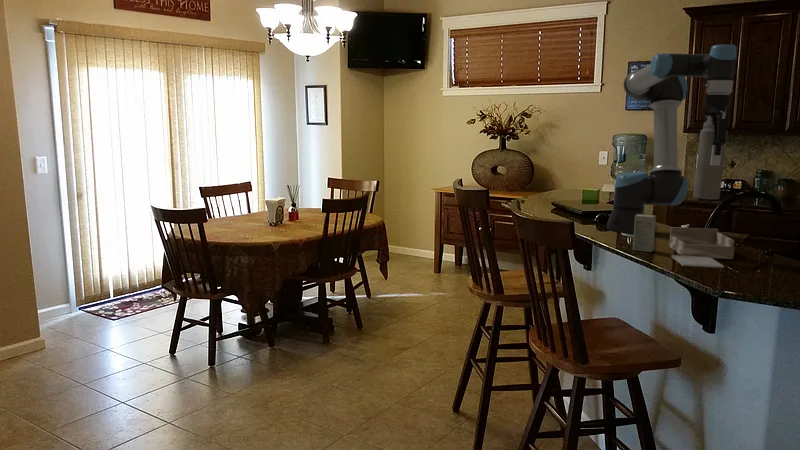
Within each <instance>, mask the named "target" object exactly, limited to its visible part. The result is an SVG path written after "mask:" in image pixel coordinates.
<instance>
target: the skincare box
mask: <svg viewBox="0 0 800 450" xmlns="http://www.w3.org/2000/svg"><path fill="white" fill-rule="evenodd" d="M656 223H657V215H651V214H644V215H642V214H637V215H635V221H634V233H633V238H632V250H633V251H639V252H647V253H652V252H653V251H654V250H655V249H654V248H655V235H656Z"/></svg>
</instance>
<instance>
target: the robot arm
mask: <svg viewBox="0 0 800 450" xmlns="http://www.w3.org/2000/svg"><path fill="white" fill-rule="evenodd" d="M737 51H738V49H737V46H736V45H734V44H715V45H712V46H711V48H710V51H709V53H706V54H705V53H666V52H663V53H656V54H655V53H654V55H653V56H652V58H651V60H650V64H648V65H647V66H645V67H643V68H641V69H637V70H633V71H632V72H629V73H628V74H627V75H626V77H625V78H624V81H623V89H624V92H625V93H626V94H627V95H628V96H629V97H630V98H632V99H633V100H637V101H644V102H645V101H647V102H649V107H650V108H651V109H652V110H653V168H652V169H651V170H650V171H649V174H648V172H647V171H626V172H621V173H619V174H617V176H616V178H615V182H614V194H613V206H612V207H613V208H612V211H611V214H610V216H609V217H608V221H607V223H606V229H607V230H609V231H612V232H617V233H626V234H634V221H635V215H637V214H642V215H645V205H647V206H651V205H652V206H668V207H669V206H678V205H680V204H681V203H683V201H684V200H685V198H686V196H687V194H688V193H687V192H688V187H689V181H688V179H687V177H686V176H685V175H682V172H683V171H682V169H680V168H679V167H678V109H679V107H680V106H681V105H682V102H683V101H684V100H685V99H686V98H687V92H688V83H687V78H699V79H706V80H707V81H706V83H705V84H704V86H705V87H706V89H705V90H706V91H705V93H706V95H705V97H704V103H703V104H704V107H709V109H708V111H705V112H704V119H703V125H702V127H703V126H704V123H705V122H707V118H708V116H707V114H708V113H712V114H711V118H712V124H713V125H714V143H712V154H711V162H710V165H716V166H720V160H721V152H722V145H723V144H725V143H726V144H727V141H726V132H727V131H728V129H727V128H728V127H727V126H728V118H729V112H728V111H727V112H726V111H725V107H726V108H727V107H730V106H731V103H732V102H731V100H732V95H730V94H732V93H733V85H734V76H735V70H736V60H737ZM686 77H687V78H686ZM713 113H715V116H714V115H713ZM717 121H718V122H717ZM701 130H703V128H702V129H701ZM727 133H728V132H727Z"/></svg>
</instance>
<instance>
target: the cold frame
mask: <svg viewBox="0 0 800 450" xmlns="http://www.w3.org/2000/svg"><path fill="white" fill-rule="evenodd" d="M669 247H670V248H671V249H672V250H673V251H674V252H676V253H678V254H679V255H683V256H703V257H711V258H712V259H726V260H733V259H734V255H735V249H736V248H735V240H734V239H733V238H731V237H728V236H726V235H725V234H722V233H720V232H719V229H718V228H705V227H702V228H701V227H683V226H681V227H679V226H677V227H676V226H670V233H669V242H668V248H669Z"/></svg>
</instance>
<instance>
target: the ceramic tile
mask: <svg viewBox="0 0 800 450" xmlns="http://www.w3.org/2000/svg"><path fill="white" fill-rule="evenodd" d="M670 257H671V258H672V259H673V260H675V261H676V262H677V263H679V264H680V265H681V266H683V267H700V268H701V267H702V268H703V267H704V268H716V269H717V268H719V269H720V268H722V269H724V268H725V266H724V265H723V264H722V263H720V262H718V261H717V260H715V258H711V257H703V256H683V255H680V254H679V255H678V254H671V255H670Z"/></svg>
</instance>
